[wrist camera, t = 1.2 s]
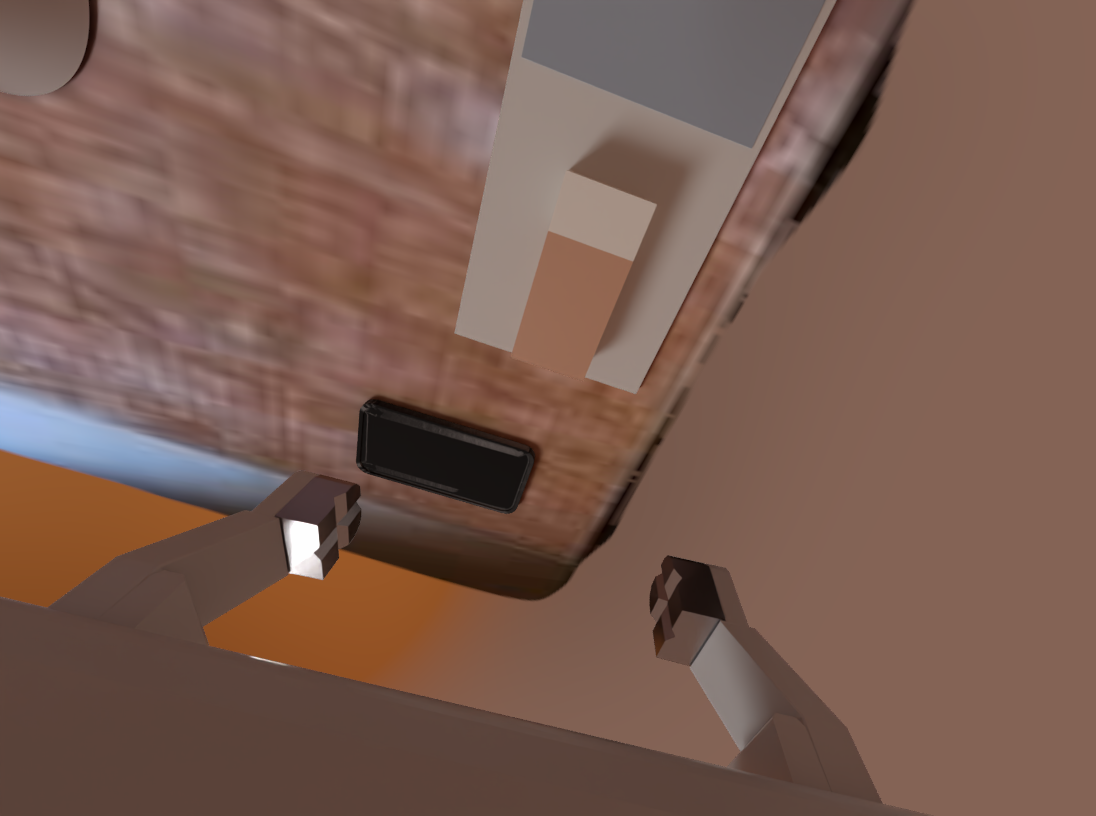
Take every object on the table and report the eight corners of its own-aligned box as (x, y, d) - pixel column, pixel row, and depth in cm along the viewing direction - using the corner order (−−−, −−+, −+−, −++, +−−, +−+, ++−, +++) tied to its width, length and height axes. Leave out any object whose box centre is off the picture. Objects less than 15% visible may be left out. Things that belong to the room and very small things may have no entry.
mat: (456, 330, 29) (454, 333, 29) (580, -259, 16) (579, -275, 15) (635, 390, 30) (636, 394, 30) (889, -113, 17) (900, -123, 17)
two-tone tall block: (583, 362, 29) (582, 381, 27) (517, 340, 29) (510, 357, 26) (649, 200, 23) (657, 204, 21) (568, 169, 23) (566, 170, 20)
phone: (360, 400, 33) (536, 454, 34) (367, 393, 34) (538, 446, 35) (355, 471, 37) (513, 517, 38) (361, 463, 38) (515, 508, 39)
